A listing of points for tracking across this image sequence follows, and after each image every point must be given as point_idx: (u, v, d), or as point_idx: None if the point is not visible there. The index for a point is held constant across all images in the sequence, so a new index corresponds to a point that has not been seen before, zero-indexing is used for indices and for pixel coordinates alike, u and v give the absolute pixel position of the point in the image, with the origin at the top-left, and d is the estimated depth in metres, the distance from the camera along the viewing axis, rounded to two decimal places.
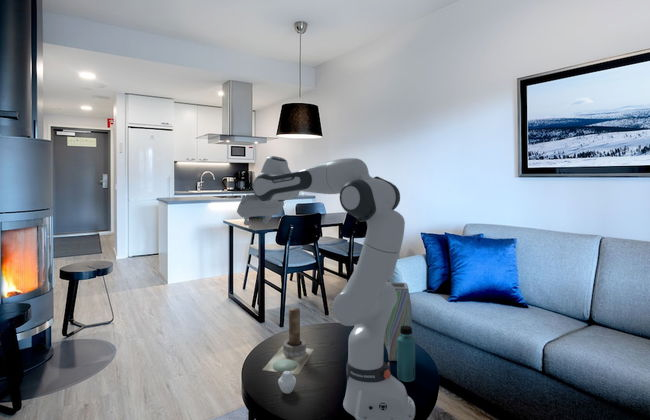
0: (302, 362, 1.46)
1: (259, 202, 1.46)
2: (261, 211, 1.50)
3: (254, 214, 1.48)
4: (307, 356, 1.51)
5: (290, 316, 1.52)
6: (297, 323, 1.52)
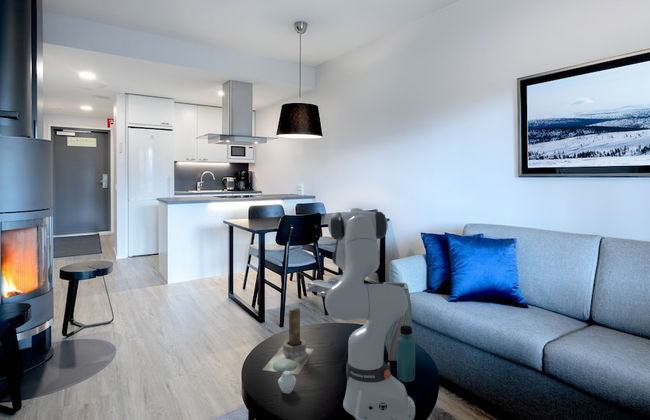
0: (302, 362, 1.46)
1: None
2: (325, 284, 1.68)
3: (318, 283, 1.69)
4: (307, 356, 1.51)
5: (290, 316, 1.52)
6: (297, 323, 1.52)
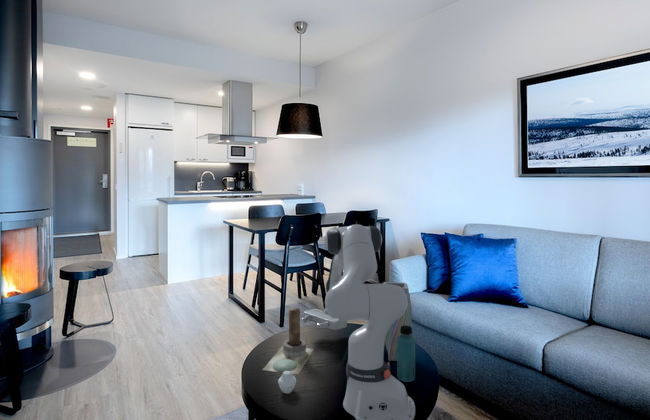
0: (302, 362, 1.46)
1: (323, 311, 1.71)
2: (320, 314, 1.66)
3: (313, 313, 1.67)
4: (307, 356, 1.51)
5: (290, 316, 1.52)
6: (297, 323, 1.52)
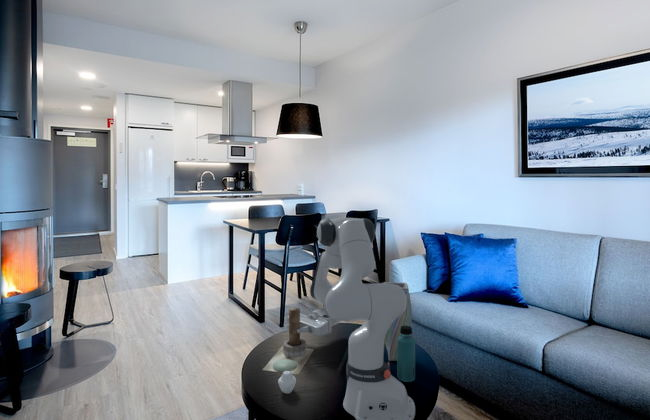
0: (302, 362, 1.46)
1: (307, 316, 1.64)
2: (304, 319, 1.59)
3: None
4: (307, 356, 1.51)
5: (290, 316, 1.52)
6: (297, 323, 1.52)
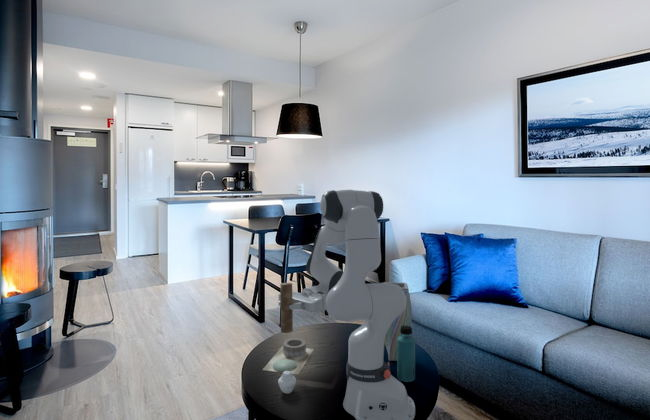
0: (302, 362, 1.46)
1: (300, 293, 1.53)
2: (297, 296, 1.48)
3: None
4: (307, 356, 1.51)
5: (282, 291, 1.42)
6: (289, 299, 1.42)
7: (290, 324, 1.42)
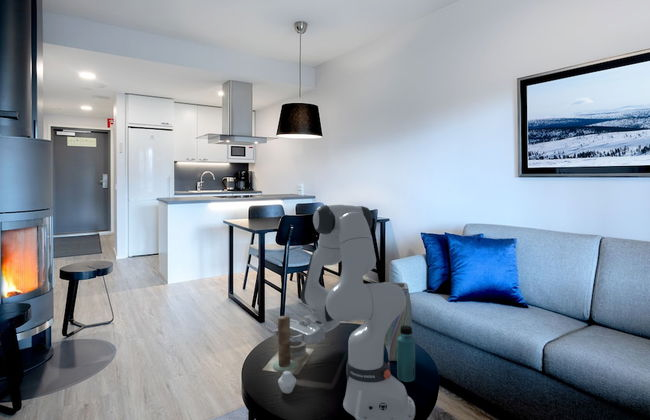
0: (302, 362, 1.46)
1: (298, 321, 1.52)
2: (295, 326, 1.47)
3: None
4: (307, 356, 1.51)
5: (279, 325, 1.41)
6: (287, 333, 1.41)
7: (288, 358, 1.41)
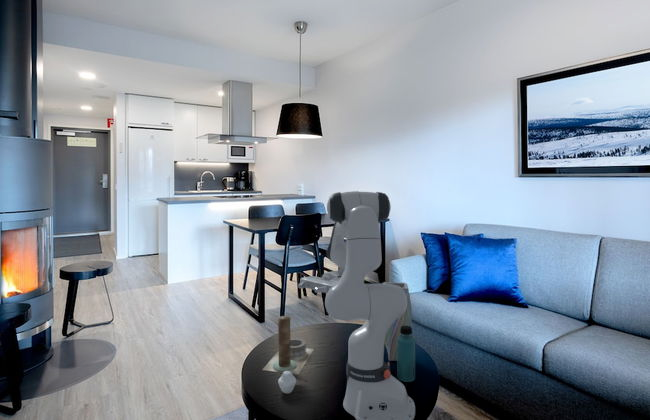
0: (302, 362, 1.46)
1: (321, 278, 1.60)
2: (318, 280, 1.56)
3: (311, 279, 1.57)
4: (307, 356, 1.51)
5: (279, 325, 1.41)
6: (287, 333, 1.41)
7: (288, 358, 1.41)
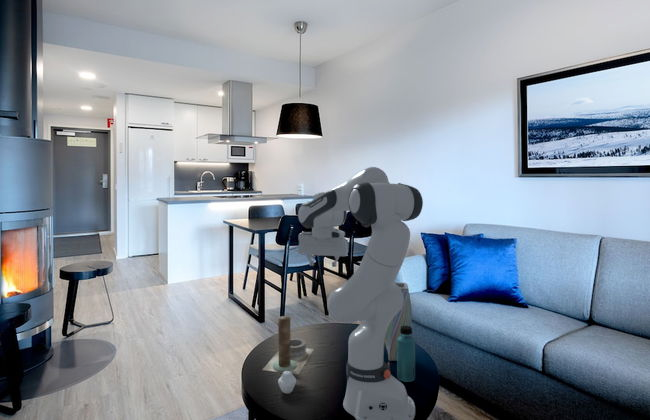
0: (302, 362, 1.46)
1: (313, 239, 1.52)
2: (320, 249, 1.52)
3: (312, 252, 1.53)
4: (307, 356, 1.51)
5: (279, 325, 1.40)
6: (287, 333, 1.41)
7: (288, 358, 1.41)
